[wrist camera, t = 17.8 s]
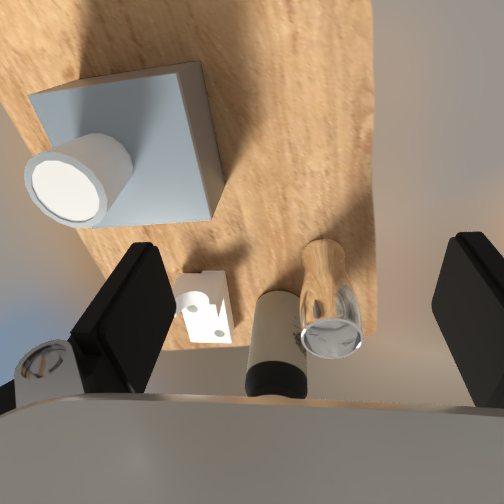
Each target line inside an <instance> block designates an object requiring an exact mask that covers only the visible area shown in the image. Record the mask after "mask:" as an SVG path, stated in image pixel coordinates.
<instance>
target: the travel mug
mask: <svg viewBox="0 0 504 504" xmlns="http://www.w3.org/2000/svg"><path fill="white" fill-rule="evenodd" d="M245 390H246V393H247V396H248V397H266V398H292V399H305V397H306V396H307V361H306V349H305V348H304V347H303V345H302V343H301V334H300V326H299V297H297V296H296V295H294V294H292V293H290V292H286V291H272V292H268V293H266V294H264V295H262V296H261V297H260V298H259V299H258V301H257V302H256V307H255V314H254V322H253V329H252V336H251V344H250V351H249V359H248V366H247V374H246V381H245Z"/></svg>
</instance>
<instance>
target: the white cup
mask: <svg viewBox="0 0 504 504" xmlns="http://www.w3.org/2000/svg"><path fill="white" fill-rule="evenodd" d="M132 172H133V164H132V161H131V157H130V155H129V153H128V152H127V150H126V149H125V148H124V146H123V145H122V144H121V143H119V142H118V141H117V140H116V139H114V138H113V137H111V136H108V135H105V134H102V133H90V134H87V135H85V136H82V137H79V138H77V139H74V140H72V141H69V142H67V143H64V144H61V145H59V146H56V147H54V148H51V149H49V150H46V151H44V152H41V153H39V154H38V155H36V156H34V157H32V158H31V159H29V161H28V163H27V165H26V168H25V170H24V179H25V187H26V189H27V191H28V193H29V195H30V196H31V198H32V200H33V202H34V203H35V204H36V205H37V206H38V207H39V208H40V209H41V210H42V211H43V212H44V213H45V214H46V215H48V216H49V217H51V218H52V219H54V220H55V221H57V222H58V223H61V224H64V225H67V226H70V227H73V228H89V227H92V226H94V225H96V224H98V223H100V222H101V220H102V219H103V217H104V216H105V215H106V213H107V212H108V210H109V209H110V207H111V206H112V205H113V203H114V202H115V200H116V199H117V197H118V196H119V194H120V193H121V192H122V190H123V189H124V187H125V186H126V184H127V183H128V181H129V180H130V179H131V177H132Z"/></svg>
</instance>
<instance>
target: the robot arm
mask: <svg viewBox="0 0 504 504" xmlns="http://www.w3.org/2000/svg"><path fill="white" fill-rule="evenodd" d="M176 307H177V306H176V301H175V297H174V294H173V291H172V288H171V285H170V282H169V279H168V276H167V273H166V270H165V267H164V264H163V261H162V258H161V255H160V252H159V249H158V247H157V246H153V244H152V243H151V242H135V243H133V244H132V245H131V246H130V248H129V249H128V251H127V252H126V253H125V255H124V256H123V258H122V259H121V261H120V262H119V263H118V265H117V266H116V268H115V269H114V271H113V272H112V273H111V275H110V276H109V278H108V279H107V281H106V282H105V283H104V285H103V286H102V288H101V289H100V291H99V292H98V293H97V295H96V296H95V298H94V300H93V301H92V302H91V304H90V305H89V306H88V308H87V309H86V311H85V312H84V313H83V315H82V316H81V318H80V319H79V321H78V322H77V324H76V325H75V326H74V328H73V329H72V331H71V332H70V333H71V336H70V337H69V339H68V340H67V341H65V340H59V339H57V340H51V341H48V342H45V343H42V344H40V345H38V346H37V347H35V348H33V349H32V350H31V351H29V352H28V353H27V354H25V356H24V357H23V358H22V359H21V360H20V361H19V363H18V365H17V366H16V368H15V373H14V379H13V380H12V381H10V382H8V383H6V384H4V385H2V386H1V387H0V504H504V258H503V257H502V255H501V254H500V253H499V252H498V251H497V249H496V248H495V247H494V246H493V244H492V243H491V242H490V241H489V240H488V239H487V238H486V236H485V235H484V234H483V233H482V232H459V233H457V235H456V236H455V237H452V238H450V240H449V242H448V246H447V250H446V253H445V257H444V260H443V264H442V267H441V271H440V274H439V278H438V282H437V285H436V289H435V293H434V296H433V299H432V312H433V314H434V316H435V319H436V321H437V323H438V325H439V327H440V330H441V332H442V334H443V336H444V338H445V340H446V343H447V345H448V347H449V349H450V352H451V354H452V356H453V358H454V360H455V363H456V365H457V367H458V369H459V371H460V373H461V376H462V378H463V380H464V382H465V385H466V387H467V389H468V391H469V393H470V396H471V398H472V400H473V402H474V404H475V406H476V407H467V406H449V405H430V404H409V403H387V402H363V401H340V400H316V399H292V398H266V397H240V396H239V397H238V396H210V395H182V394H149V393H147V394H146V393H144V391H145V389H146V386H147V383H148V381H149V378H150V376H151V373H152V371H153V368H154V366H155V363H156V361H157V358H158V356H159V353H160V351H161V348H162V346H163V343H164V341H165V338H166V336H167V333H168V331H169V328H170V326H171V323H172V321H173V318H174V316H175V313H176Z"/></svg>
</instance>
